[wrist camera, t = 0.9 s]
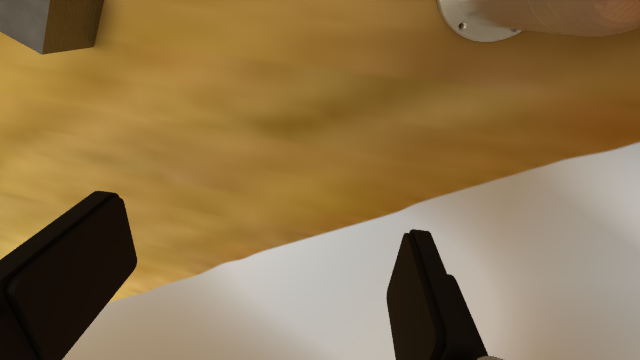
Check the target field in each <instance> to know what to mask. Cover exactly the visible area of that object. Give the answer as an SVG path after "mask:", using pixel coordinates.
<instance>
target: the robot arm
mask: <svg viewBox="0 0 640 360" xmlns="http://www.w3.org/2000/svg"><path fill="white" fill-rule="evenodd" d="M437 5H438V9H439V11H440V13H441V16H442V18H443V20H444V21H445V22H446V24H447V25H448V26H449V28H451V29H452V30H453V31H454V32H455V33H456V34H458V35H460V36H462V37H464V38H466V39H469V40H473V41H479V42H495V41H499V40H503V39H507V38H509V37H512V36H514V35H516V34H518V33H520V32H521V31H533V32H542V33H551V34H561V35H570V36H584V37H601V36H609V35H615V34H620V33H624V32H628V31H631V30H634V29H637V28H639V27H640V0H437ZM460 23H462V27H461V28H459V24H460ZM510 29H511V30H510ZM136 264H137V257H136V252H135V248H134V244H133V239H132V235H131V230H130V226H129V222H128V217H127V213H126V209H125V204H124V201H123V199H122V198H120V197H119V195H118V194H116V193H112V192H104V191H95V192H93V193H92V194H90V195H89V196H88V197H86V198H85V199H83V200H82V201H81V202H79V203H78V204H77V205H75V206H74V207H72V208H71V209H70V210H68V211H67V212H66V213H64V214H63V215H61V216H60V217H59V218H57V219H56V220H55V221H53V222H52V223H50V224H49V225H48V226H46V227H45V228H43V229H42V230H41V231H39V232H38V233H37V234H35V235H34V236H32V237H31V238H30V239H28V240H27V241H26V242H24V243H23V244H21V245H20V246H19V247H17V248H16V249H15V250H13V251H12V252H10V253H9V254H8V255H6V256H5V257H4V258H2V259H1V260H0V360H62V359H63V358H64V357H65V355H66V354H67V353H68V351H69V350H70V349H71V348H72V347H73V345H74V344H75V343H76V342H77V340H78V339H79V338H80V336H81V335H82V334H83V333H84V331H85V330H86V329H87V328H88V327H89V325H90V324H91V323H92V322H93V320H94V319H95V318H96V317H97V315H98V314H99V313H100V312H101V310H102V309H103V308H104V307H105V306H106V304H107V303H108V302H109V301H110V299H111V298H112V297H113V296H114V294H115V293H116V292H117V291H118V289H119V288H120V287H121V286H122V284H123V283H124V282H125V281H126V279H127V278H128V277H129V276H130V274H131V273H132V272H133V271H134V269H135V267H136ZM387 305H388V312H389V318H390V324H391V331H392V337H393V344H394V350H395V357H396V360H503V359H500V358H497V357H493V356H488V354H487V351H486V349H485V347H484V344H483V342H482V340H481V337H480V335H479V333H478V330H477V328H476V326H475V323H474V321H473V319H472V317H471V314H470V312H469V309H468V307H467V305H466V302H465V300H464V298H463V295H462V293H461V291H460V288H459V286H458V283H457V281H456V279H455V278H454V276H452V275H449V274H447V273H446V270H445V268H444V265H443V263H442V261H441V258H440V255H439V253H438V250H437V248H436V245H435V243H434V240H433V238H432V235H431V233H430V232H429V231H422V230H414V229H412V230H411V231H410V232H409V233H405V234H404V235H403V238H402V242H401V245H400V249H399V252H398V256H397V259H396V263H395V266H394V269H393V273H392V276H391V280H390V283H389V286H388V290H387Z"/></svg>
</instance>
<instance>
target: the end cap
mask: <svg viewBox="0 0 640 360" xmlns="http://www.w3.org/2000/svg"><path fill="white" fill-rule="evenodd" d="M103 1H104V0H0V32H2V33H4V34H6V35H7V36H9V37H11V38H13V39H15V40H17V41H18V42H20V43H22V44H24V45H26V46H27V47H29V48H31V49H33V50H35V51H37V52H38V53H40V54H49V53H56V52H63V51H70V50H77V49H84V48H91V47H93V45H94V41H95V37H96V32H97V28H98V23H99V19H100V14H101V10H102V6H103Z"/></svg>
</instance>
